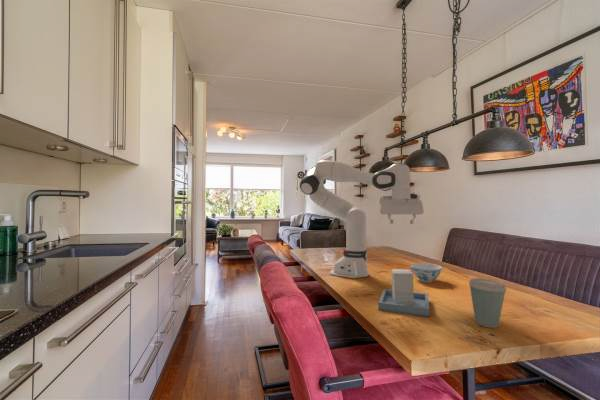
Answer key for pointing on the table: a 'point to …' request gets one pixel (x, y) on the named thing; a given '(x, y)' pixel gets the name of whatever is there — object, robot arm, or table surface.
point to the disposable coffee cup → (487, 301)
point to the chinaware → (426, 271)
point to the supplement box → (402, 286)
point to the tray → (417, 309)
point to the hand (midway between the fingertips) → (401, 223)
